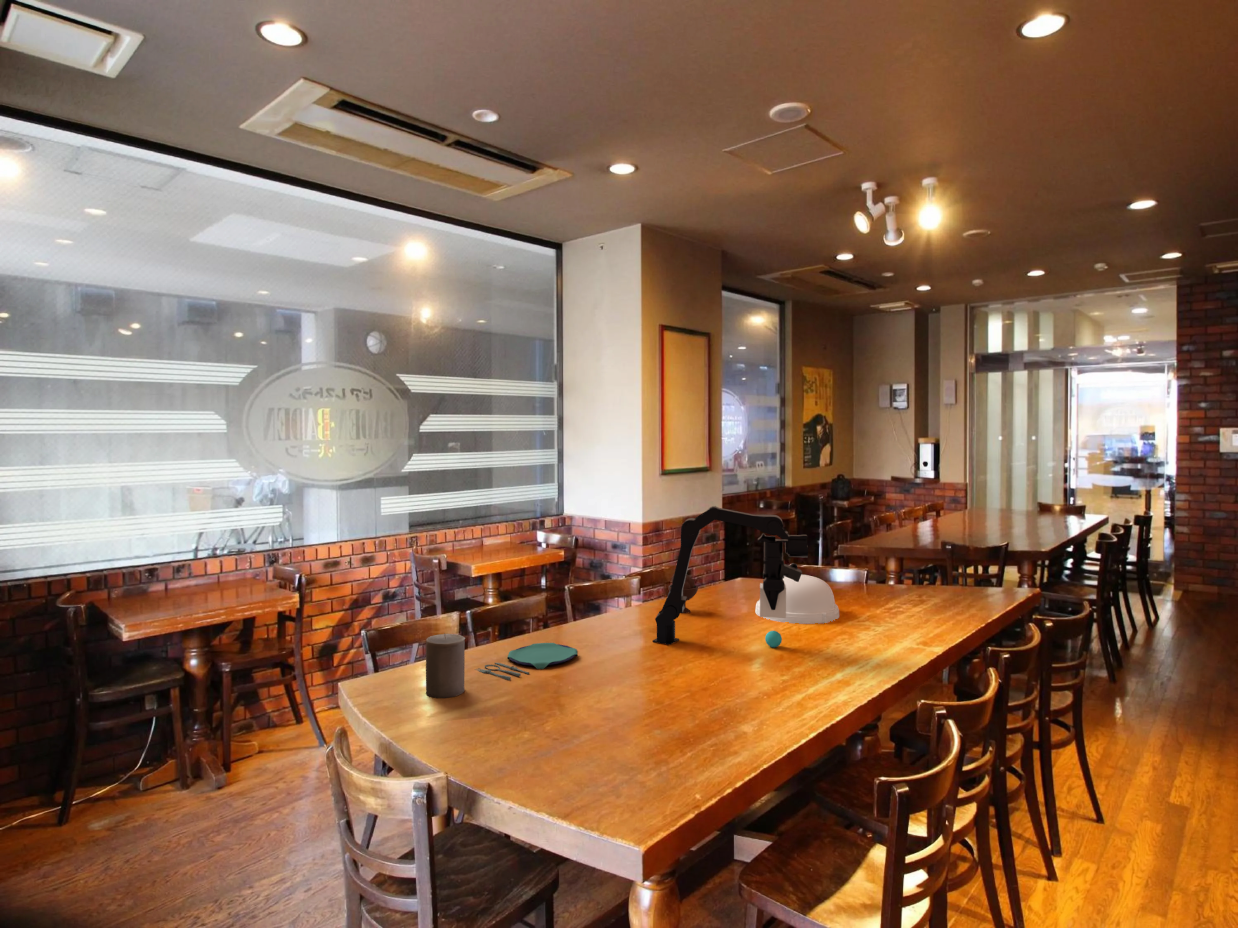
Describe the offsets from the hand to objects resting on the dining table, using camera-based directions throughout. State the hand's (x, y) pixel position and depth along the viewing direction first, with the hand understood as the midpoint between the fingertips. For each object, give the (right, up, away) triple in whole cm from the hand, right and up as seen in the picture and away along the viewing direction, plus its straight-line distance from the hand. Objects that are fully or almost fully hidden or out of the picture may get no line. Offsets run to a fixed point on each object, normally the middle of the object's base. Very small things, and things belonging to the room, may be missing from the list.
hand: (773, 606), depth 225 cm
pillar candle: (-92, -14, -38) cm, 100 cm away
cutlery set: (-73, -14, -14) cm, 76 cm away
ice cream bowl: (-24, -11, +46) cm, 53 cm away
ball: (0, -10, 0) cm, 10 cm away
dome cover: (+18, -11, +43) cm, 48 cm away
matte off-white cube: (0, -2, 0) cm, 2 cm away
